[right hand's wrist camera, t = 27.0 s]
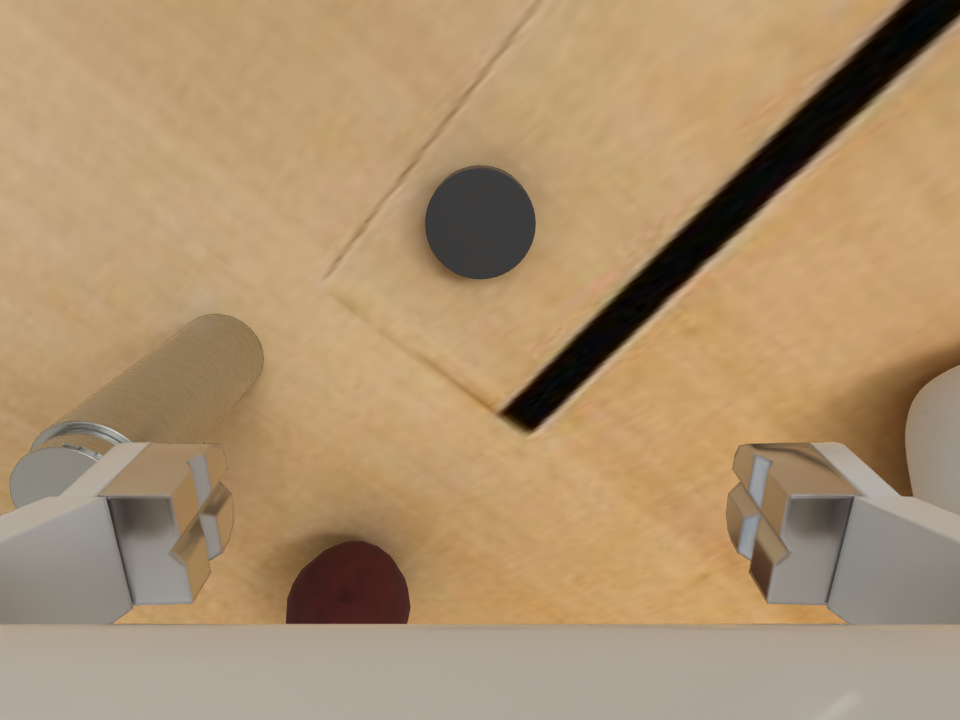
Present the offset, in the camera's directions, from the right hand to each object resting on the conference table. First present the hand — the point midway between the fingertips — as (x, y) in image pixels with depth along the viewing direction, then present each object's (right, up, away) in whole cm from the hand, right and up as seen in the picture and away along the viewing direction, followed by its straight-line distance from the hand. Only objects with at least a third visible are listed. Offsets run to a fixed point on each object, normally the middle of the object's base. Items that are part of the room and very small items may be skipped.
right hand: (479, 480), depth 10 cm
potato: (-8, -12, +32) cm, 35 cm away
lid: (0, +9, +23) cm, 25 cm away
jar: (-15, +2, +27) cm, 31 cm away
